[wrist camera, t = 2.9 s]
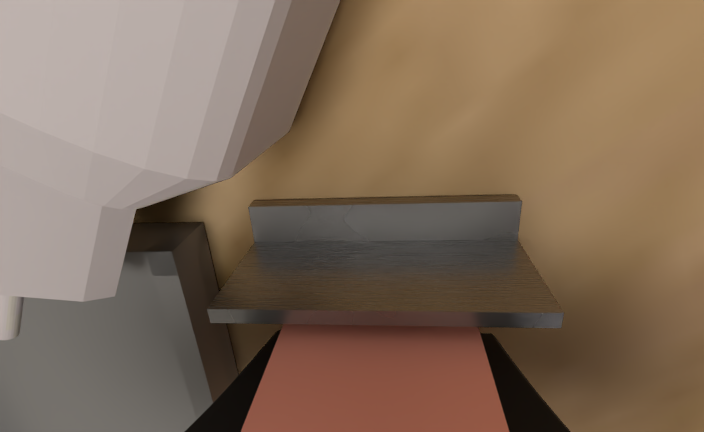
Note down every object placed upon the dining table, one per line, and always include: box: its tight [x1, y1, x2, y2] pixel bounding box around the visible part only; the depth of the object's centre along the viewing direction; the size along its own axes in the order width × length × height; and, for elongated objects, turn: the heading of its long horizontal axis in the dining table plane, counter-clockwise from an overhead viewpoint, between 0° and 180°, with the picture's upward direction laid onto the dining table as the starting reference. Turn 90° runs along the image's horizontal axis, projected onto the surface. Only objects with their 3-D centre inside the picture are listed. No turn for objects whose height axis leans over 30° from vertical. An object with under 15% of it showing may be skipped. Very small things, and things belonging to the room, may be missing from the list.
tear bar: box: [207, 195, 564, 328], centre depth 8 cm, size 1×6×3 cm, turn 93°
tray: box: [0, 223, 238, 432], centre depth 12 cm, size 10×9×2 cm
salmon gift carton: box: [241, 324, 509, 432], centre depth 8 cm, size 4×4×6 cm
